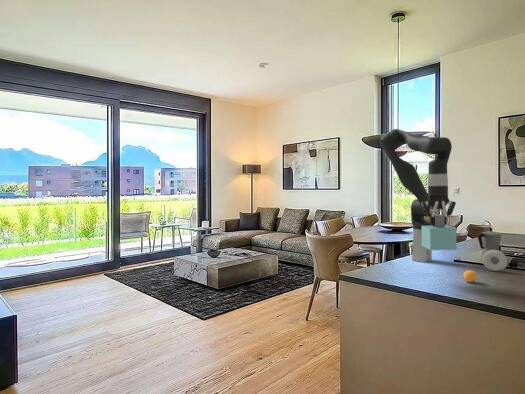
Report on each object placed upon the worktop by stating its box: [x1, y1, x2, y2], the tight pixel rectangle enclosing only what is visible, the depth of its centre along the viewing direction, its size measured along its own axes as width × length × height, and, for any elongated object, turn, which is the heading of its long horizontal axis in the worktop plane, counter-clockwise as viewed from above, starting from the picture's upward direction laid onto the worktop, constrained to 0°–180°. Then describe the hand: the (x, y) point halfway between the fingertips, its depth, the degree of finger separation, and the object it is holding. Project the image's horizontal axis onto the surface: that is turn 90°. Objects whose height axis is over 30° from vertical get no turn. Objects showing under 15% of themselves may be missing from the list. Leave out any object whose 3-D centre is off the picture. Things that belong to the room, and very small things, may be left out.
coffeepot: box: [477, 227, 503, 264], centre depth 181 cm, size 15×9×18 cm, turn 110°
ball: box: [463, 269, 478, 283], centre depth 146 cm, size 5×5×5 cm
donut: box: [482, 250, 508, 272], centre depth 164 cm, size 10×4×10 cm, turn 50°
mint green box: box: [422, 214, 458, 251], centre depth 147 cm, size 10×10×14 cm
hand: (438, 225), depth 147 cm, fingers closed on mint green box, 3 cm apart
